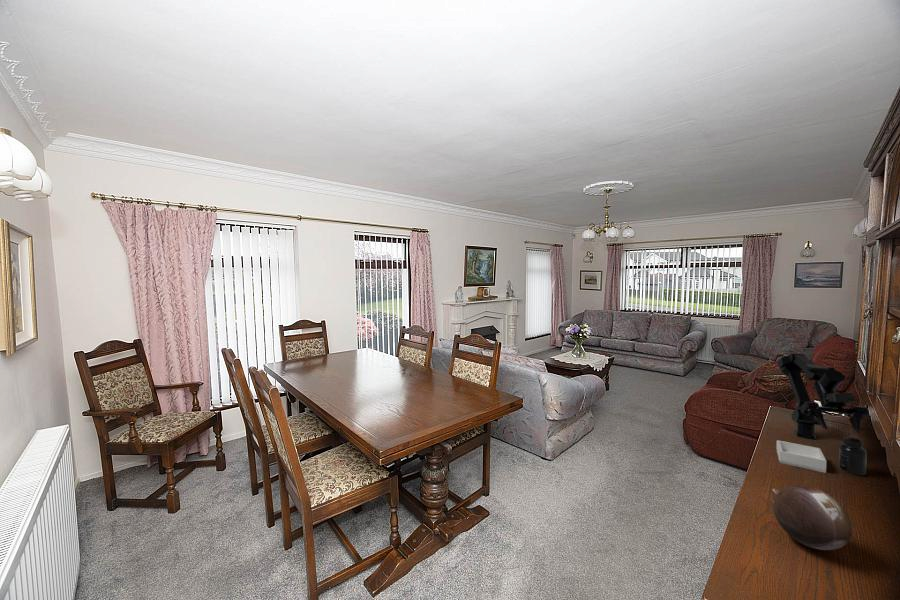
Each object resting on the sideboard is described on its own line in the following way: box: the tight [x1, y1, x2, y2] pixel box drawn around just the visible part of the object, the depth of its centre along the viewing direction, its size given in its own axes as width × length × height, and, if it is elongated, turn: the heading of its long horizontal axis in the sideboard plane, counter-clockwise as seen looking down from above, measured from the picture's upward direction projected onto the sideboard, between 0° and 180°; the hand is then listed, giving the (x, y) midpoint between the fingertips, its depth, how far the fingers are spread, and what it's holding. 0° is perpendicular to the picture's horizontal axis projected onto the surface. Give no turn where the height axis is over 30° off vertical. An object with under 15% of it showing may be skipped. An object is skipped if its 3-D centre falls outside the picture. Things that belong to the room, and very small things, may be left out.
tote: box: [776, 440, 827, 474], centre depth 141 cm, size 13×13×4 cm
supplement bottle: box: [838, 436, 868, 477], centre depth 133 cm, size 7×7×12 cm
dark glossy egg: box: [772, 484, 853, 551], centre depth 97 cm, size 15×15×15 cm
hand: (842, 430), depth 139 cm, fingers open, 9 cm apart
